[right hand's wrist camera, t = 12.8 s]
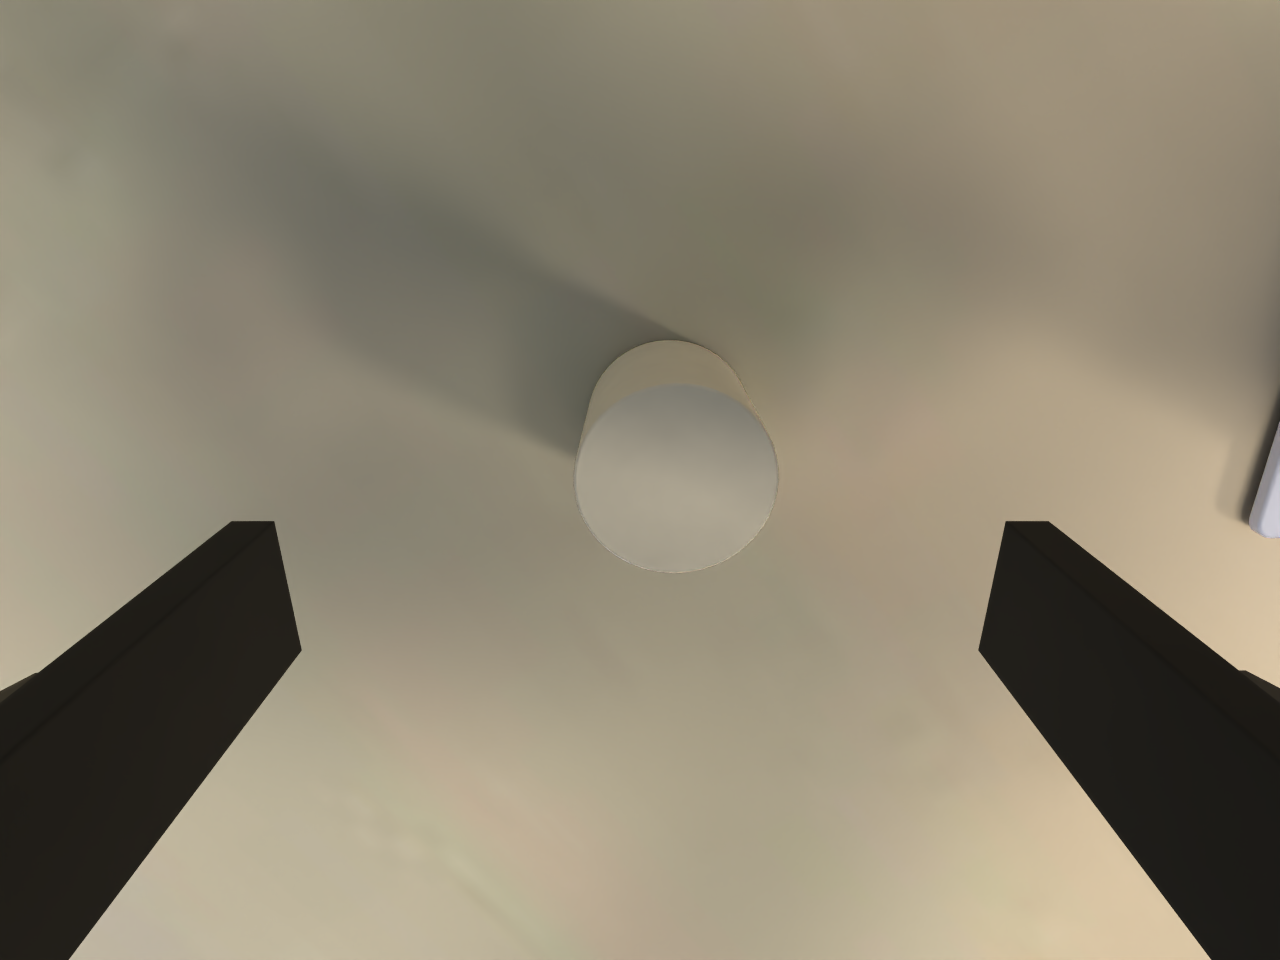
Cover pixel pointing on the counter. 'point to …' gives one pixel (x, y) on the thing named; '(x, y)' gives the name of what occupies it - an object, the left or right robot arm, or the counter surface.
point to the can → (673, 460)
